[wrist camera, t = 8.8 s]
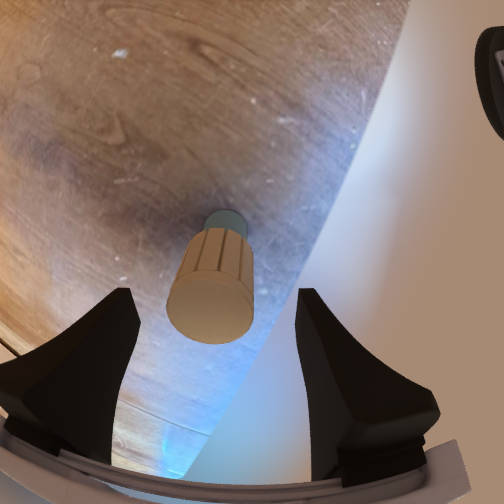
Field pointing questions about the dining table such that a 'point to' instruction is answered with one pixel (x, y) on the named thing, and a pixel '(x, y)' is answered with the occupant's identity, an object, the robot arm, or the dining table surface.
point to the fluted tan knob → (213, 288)
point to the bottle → (227, 222)
